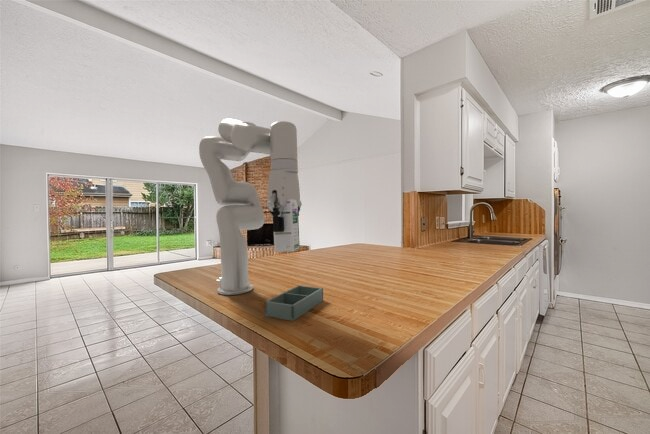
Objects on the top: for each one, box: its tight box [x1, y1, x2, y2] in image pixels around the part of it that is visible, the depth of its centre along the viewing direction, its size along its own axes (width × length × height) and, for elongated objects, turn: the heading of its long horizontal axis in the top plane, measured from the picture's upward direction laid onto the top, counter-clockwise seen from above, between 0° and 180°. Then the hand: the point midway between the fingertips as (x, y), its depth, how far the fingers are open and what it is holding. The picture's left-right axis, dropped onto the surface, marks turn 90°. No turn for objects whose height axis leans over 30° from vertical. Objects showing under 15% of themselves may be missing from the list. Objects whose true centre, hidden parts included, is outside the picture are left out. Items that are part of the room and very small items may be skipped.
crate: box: [264, 285, 324, 322], centre depth 84 cm, size 18×9×4 cm, turn 154°
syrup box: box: [273, 199, 301, 253], centre depth 79 cm, size 6×6×14 cm
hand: (286, 230), depth 79 cm, fingers closed on syrup box, 6 cm apart
